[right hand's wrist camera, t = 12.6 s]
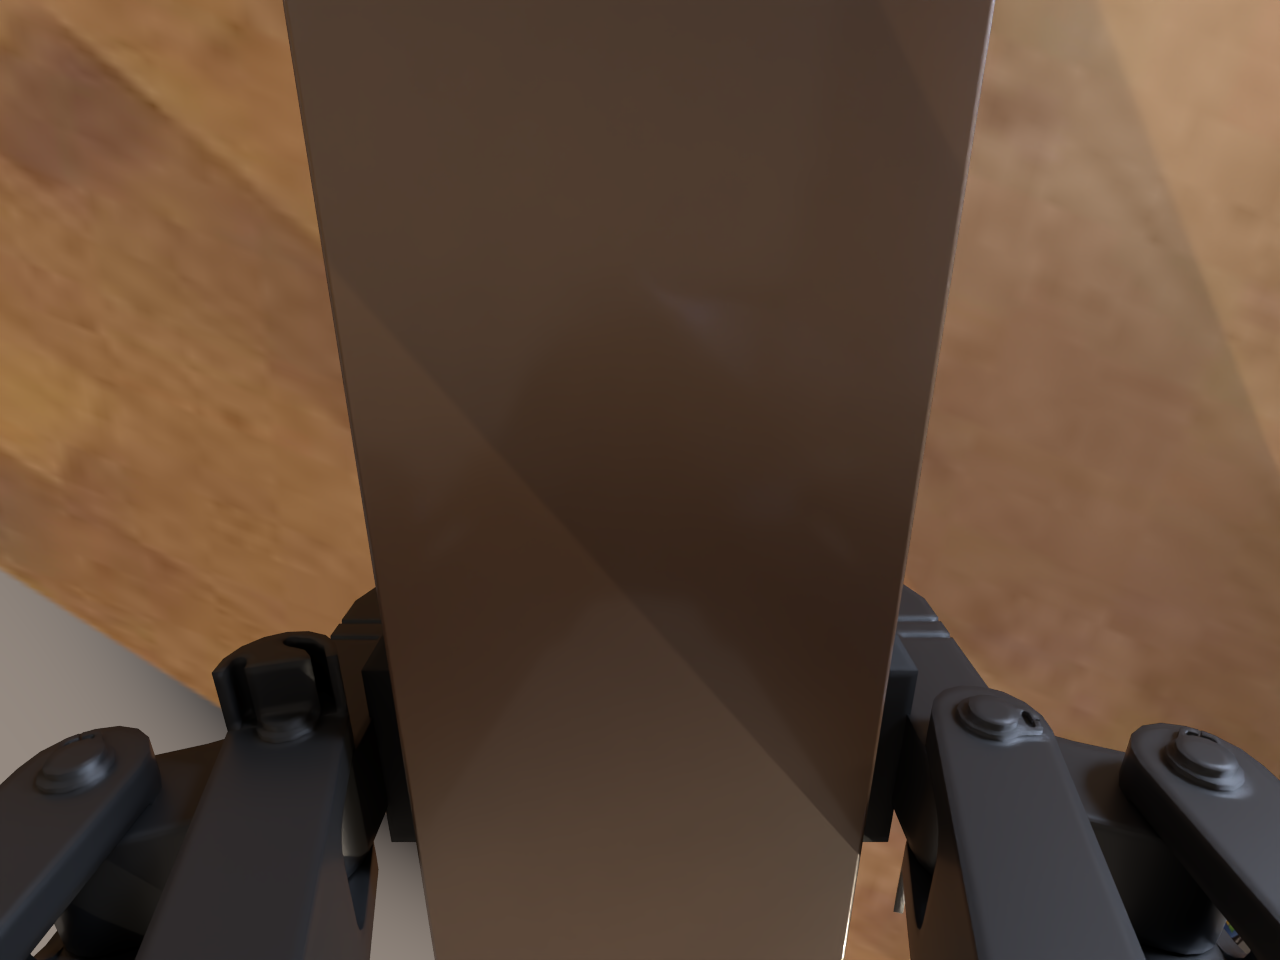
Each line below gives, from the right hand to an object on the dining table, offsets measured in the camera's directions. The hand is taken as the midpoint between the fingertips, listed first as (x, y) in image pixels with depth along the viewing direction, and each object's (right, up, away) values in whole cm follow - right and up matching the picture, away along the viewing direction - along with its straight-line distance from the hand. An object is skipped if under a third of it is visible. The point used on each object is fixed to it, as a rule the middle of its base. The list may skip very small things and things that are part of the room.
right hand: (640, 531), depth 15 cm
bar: (0, +20, -7) cm, 21 cm away
